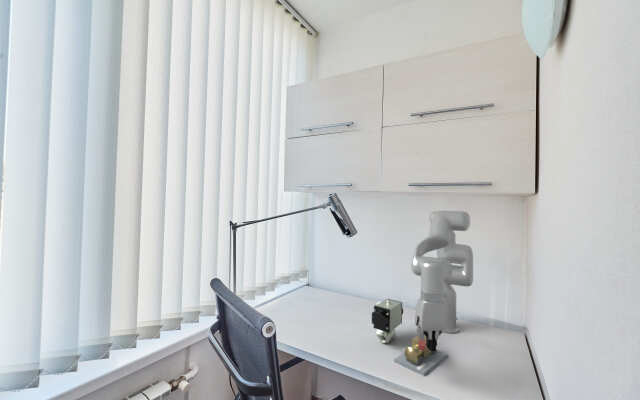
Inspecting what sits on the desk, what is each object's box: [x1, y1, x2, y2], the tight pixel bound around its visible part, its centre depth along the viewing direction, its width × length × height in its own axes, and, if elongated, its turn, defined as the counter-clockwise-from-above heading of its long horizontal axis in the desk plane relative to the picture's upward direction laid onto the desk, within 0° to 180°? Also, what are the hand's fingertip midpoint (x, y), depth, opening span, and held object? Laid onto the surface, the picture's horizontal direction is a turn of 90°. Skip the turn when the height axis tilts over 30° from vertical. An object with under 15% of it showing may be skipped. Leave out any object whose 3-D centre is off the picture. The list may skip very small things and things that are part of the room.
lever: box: [418, 333, 425, 350], centre depth 102 cm, size 16×3×1 cm, turn 160°
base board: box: [393, 349, 448, 377], centre depth 108 cm, size 20×12×1 cm, turn 133°
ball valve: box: [371, 298, 404, 344], centre depth 123 cm, size 18×8×18 cm, turn 141°
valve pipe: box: [403, 335, 438, 366], centre depth 108 cm, size 17×5×9 cm, turn 133°
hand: (431, 349), depth 97 cm, fingers closed
